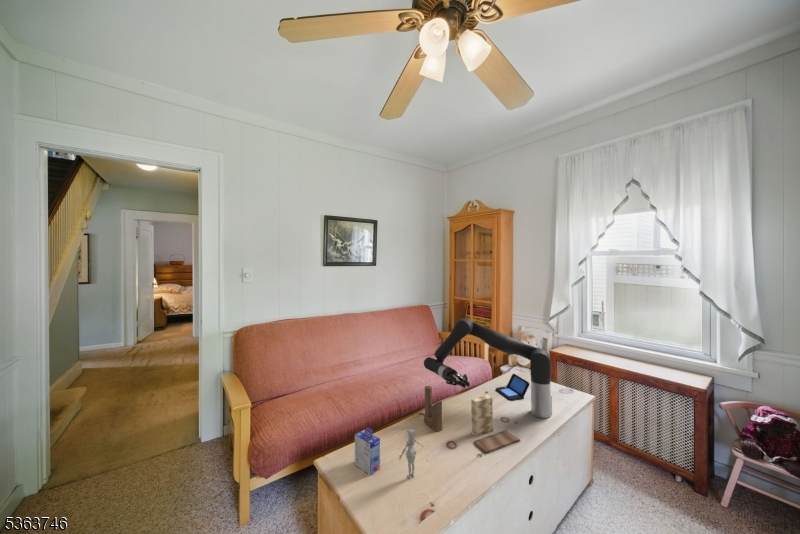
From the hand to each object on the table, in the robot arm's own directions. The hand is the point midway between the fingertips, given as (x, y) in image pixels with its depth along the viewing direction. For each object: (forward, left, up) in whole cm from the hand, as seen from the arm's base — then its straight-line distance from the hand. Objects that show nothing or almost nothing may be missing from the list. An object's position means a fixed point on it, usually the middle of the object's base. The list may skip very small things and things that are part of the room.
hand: (467, 385), depth 147 cm
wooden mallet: (+18, -4, -18) cm, 26 cm away
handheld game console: (-42, -12, -18) cm, 48 cm away
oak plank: (0, +11, -18) cm, 21 cm away
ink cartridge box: (+56, +9, -18) cm, 60 cm away
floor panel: (0, +20, -18) cm, 27 cm away
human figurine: (+43, +22, -18) cm, 52 cm away
